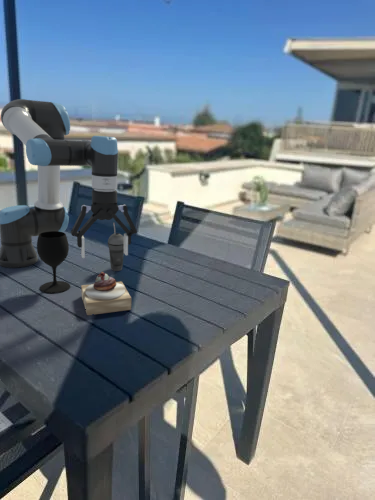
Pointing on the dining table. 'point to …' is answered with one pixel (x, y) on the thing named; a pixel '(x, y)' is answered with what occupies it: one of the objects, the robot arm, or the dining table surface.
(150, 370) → the dining table surface
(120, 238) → the beverage cup
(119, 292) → the plinth
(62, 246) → the wine glass
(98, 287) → the pastry
